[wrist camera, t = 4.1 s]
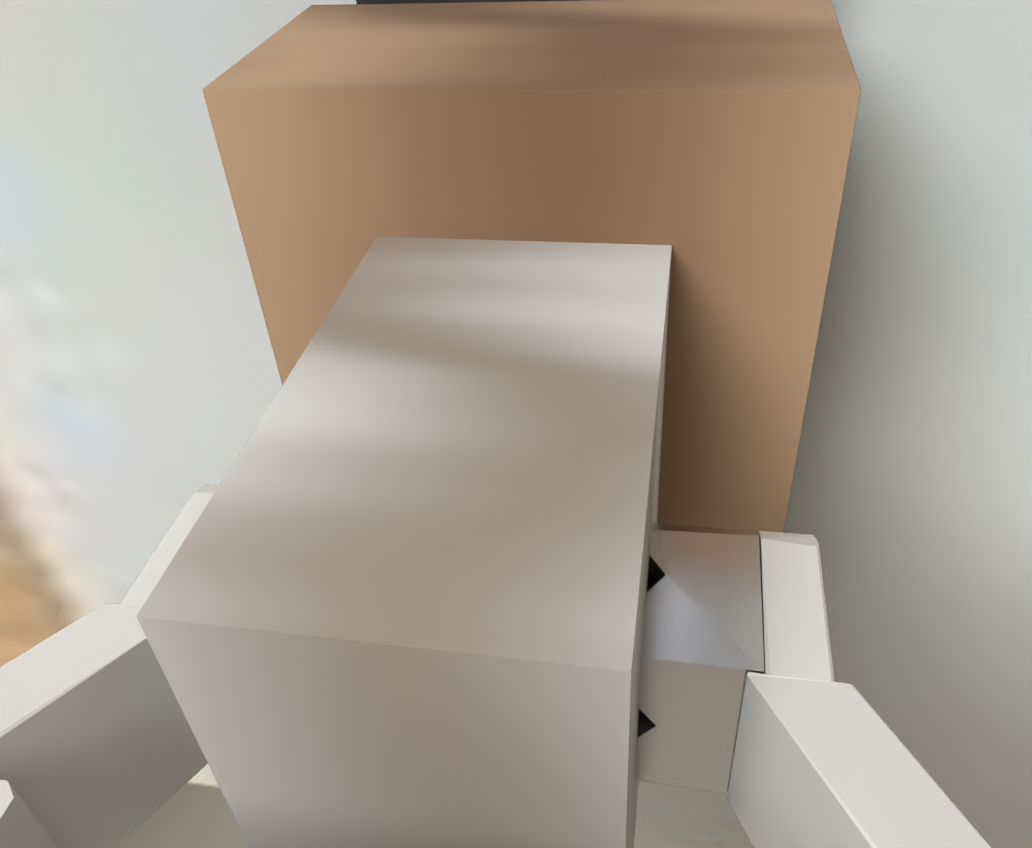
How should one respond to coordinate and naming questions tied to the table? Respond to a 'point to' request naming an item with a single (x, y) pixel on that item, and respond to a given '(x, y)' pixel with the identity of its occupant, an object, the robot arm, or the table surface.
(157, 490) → the table surface
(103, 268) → the table surface
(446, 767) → the carriage
